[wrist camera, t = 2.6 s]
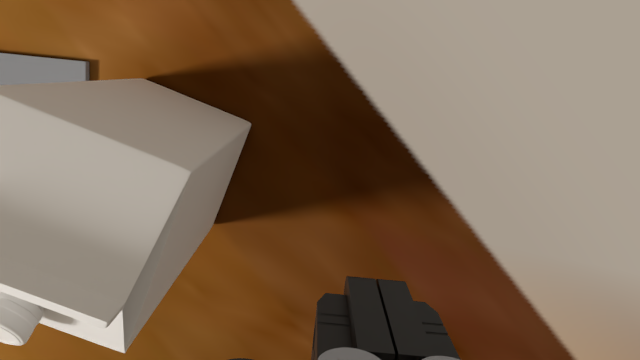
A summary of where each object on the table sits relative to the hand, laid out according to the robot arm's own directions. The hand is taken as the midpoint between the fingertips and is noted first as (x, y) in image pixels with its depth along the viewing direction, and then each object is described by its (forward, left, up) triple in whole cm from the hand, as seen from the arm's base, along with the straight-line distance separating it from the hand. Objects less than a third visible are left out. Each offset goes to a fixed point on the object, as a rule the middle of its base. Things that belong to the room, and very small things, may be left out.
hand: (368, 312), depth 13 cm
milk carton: (+9, +5, -19) cm, 22 cm away
